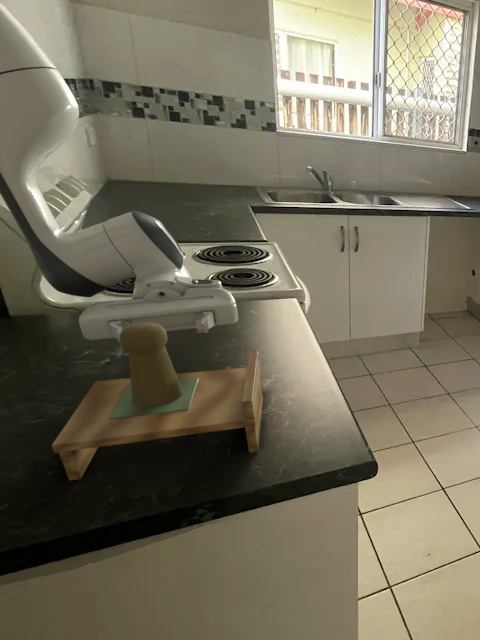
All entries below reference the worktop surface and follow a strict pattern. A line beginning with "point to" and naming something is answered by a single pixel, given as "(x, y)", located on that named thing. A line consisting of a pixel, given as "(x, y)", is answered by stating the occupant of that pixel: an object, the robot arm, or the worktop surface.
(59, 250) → the robot arm
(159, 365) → the cork
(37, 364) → the worktop surface
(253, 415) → the shelf
